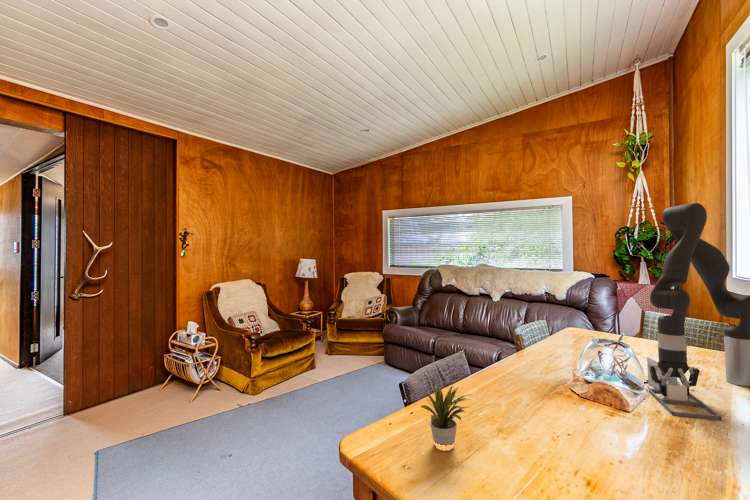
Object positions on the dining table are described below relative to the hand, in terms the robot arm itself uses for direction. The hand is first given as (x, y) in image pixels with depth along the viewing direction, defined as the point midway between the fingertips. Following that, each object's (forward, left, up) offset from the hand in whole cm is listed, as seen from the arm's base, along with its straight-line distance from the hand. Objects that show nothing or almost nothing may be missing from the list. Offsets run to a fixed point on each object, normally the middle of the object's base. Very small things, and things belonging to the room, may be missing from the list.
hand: (674, 396), depth 120 cm
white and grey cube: (0, 0, -1) cm, 1 cm away
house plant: (+55, -69, -1) cm, 89 cm away
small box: (-10, 0, -1) cm, 10 cm away
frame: (0, 0, -1) cm, 1 cm away
